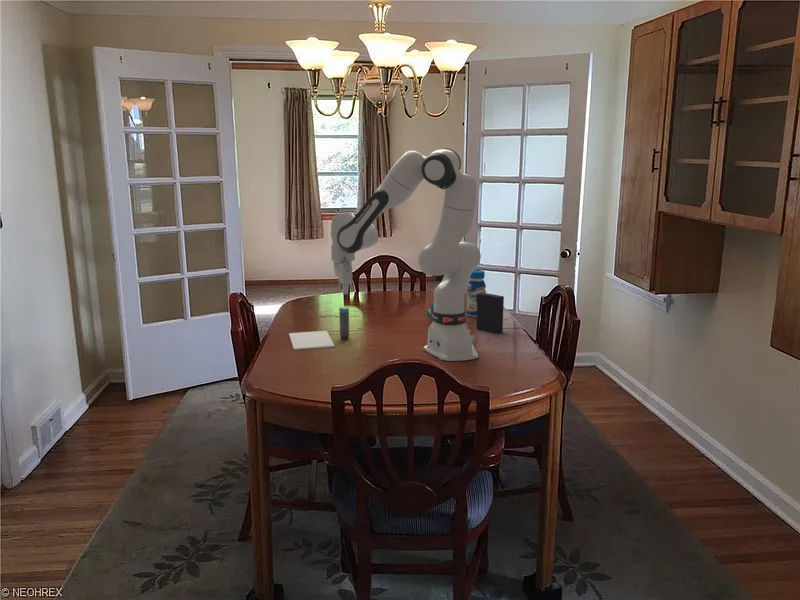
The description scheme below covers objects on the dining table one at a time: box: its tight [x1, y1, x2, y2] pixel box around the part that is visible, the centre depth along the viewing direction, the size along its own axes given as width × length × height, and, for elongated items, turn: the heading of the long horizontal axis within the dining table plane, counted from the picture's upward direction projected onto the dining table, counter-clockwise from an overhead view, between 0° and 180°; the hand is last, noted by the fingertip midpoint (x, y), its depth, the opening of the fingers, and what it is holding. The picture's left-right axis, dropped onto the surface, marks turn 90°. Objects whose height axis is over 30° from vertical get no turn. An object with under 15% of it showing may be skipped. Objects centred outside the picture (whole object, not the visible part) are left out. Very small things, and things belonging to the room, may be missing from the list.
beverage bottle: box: [466, 269, 487, 318], centre depth 283 cm, size 8×8×20 cm
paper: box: [288, 330, 336, 351], centre depth 245 cm, size 21×15×1 cm
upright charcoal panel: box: [475, 292, 505, 335], centre depth 258 cm, size 11×4×15 cm, turn 47°
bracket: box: [426, 302, 434, 322], centre depth 280 cm, size 18×7×8 cm, turn 8°
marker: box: [338, 307, 350, 340], centre depth 247 cm, size 4×4×12 cm
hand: (343, 291), depth 244 cm, fingers open, 8 cm apart
